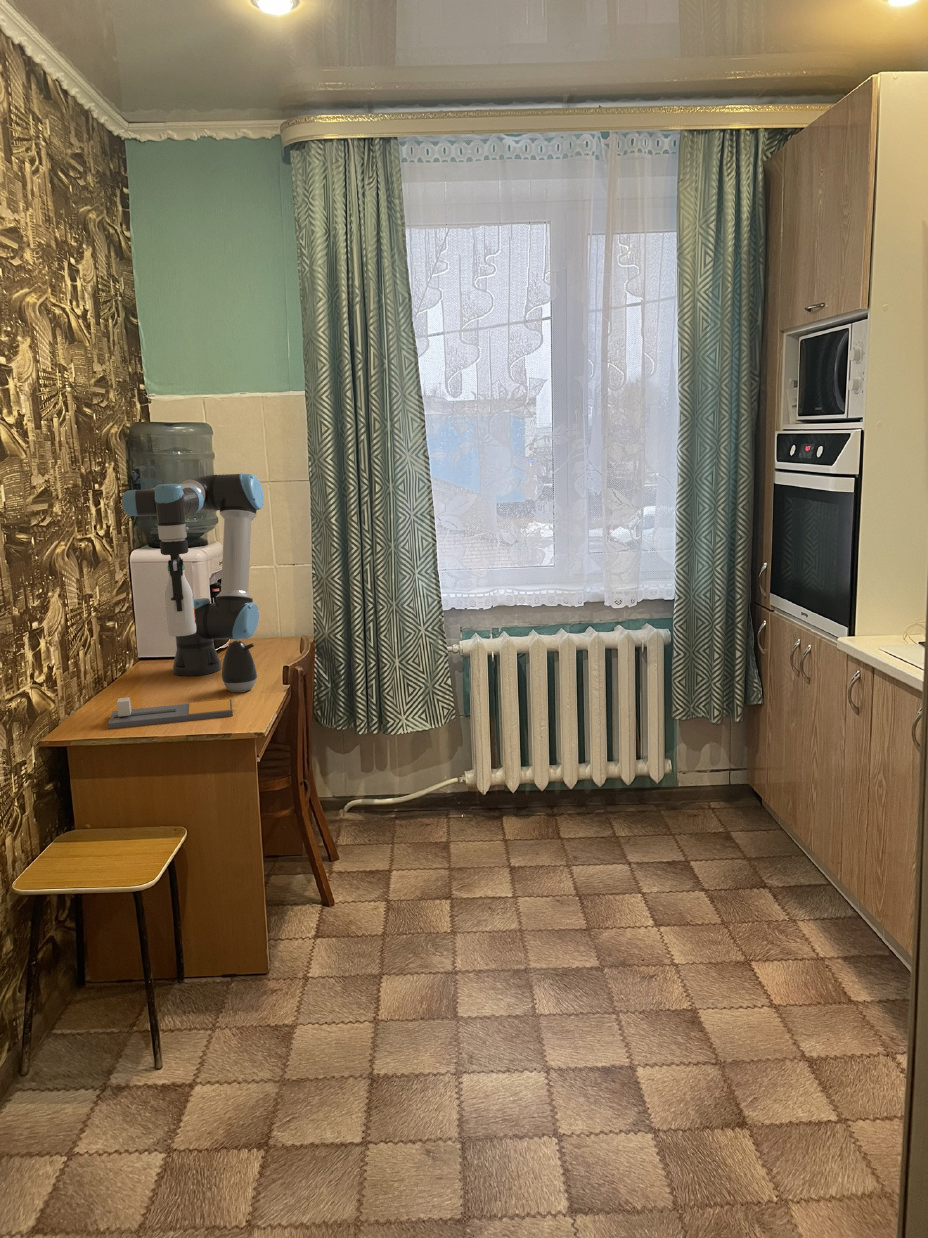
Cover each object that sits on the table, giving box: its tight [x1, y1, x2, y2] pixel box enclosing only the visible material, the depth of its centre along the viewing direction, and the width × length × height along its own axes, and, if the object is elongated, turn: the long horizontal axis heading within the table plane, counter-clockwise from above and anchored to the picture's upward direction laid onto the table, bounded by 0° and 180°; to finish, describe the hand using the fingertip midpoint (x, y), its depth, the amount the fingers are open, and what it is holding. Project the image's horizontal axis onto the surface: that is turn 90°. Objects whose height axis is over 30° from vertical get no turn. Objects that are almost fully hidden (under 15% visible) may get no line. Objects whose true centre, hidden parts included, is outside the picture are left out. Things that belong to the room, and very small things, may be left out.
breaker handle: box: [116, 696, 132, 716], centre depth 262 cm, size 4×3×4 cm
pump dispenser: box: [221, 640, 258, 693], centre depth 289 cm, size 10×10×15 cm
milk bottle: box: [164, 563, 196, 637], centre depth 275 cm, size 8×8×20 cm
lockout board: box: [107, 698, 234, 730], centre depth 266 cm, size 12×32×2 cm, turn 104°
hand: (181, 619), depth 276 cm, fingers closed on milk bottle, 8 cm apart
